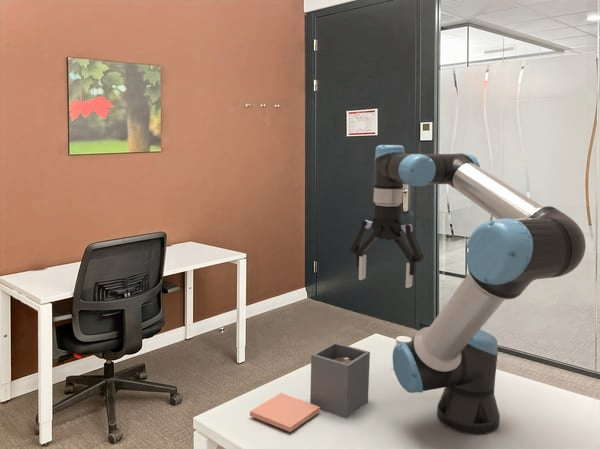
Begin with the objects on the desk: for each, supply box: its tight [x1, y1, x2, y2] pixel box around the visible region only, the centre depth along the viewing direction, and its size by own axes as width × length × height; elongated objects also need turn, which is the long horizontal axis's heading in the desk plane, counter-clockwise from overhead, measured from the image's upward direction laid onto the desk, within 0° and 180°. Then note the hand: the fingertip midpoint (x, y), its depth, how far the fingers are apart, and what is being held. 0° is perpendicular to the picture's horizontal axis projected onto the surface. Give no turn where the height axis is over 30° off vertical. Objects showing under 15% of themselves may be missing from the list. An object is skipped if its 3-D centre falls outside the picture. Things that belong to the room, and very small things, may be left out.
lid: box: [249, 392, 321, 433], centre depth 142 cm, size 13×13×2 cm
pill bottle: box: [392, 335, 413, 370], centre depth 170 cm, size 6×6×10 cm
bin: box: [309, 342, 371, 419], centre depth 148 cm, size 11×11×14 cm
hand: (384, 282), depth 151 cm, fingers open, 13 cm apart
